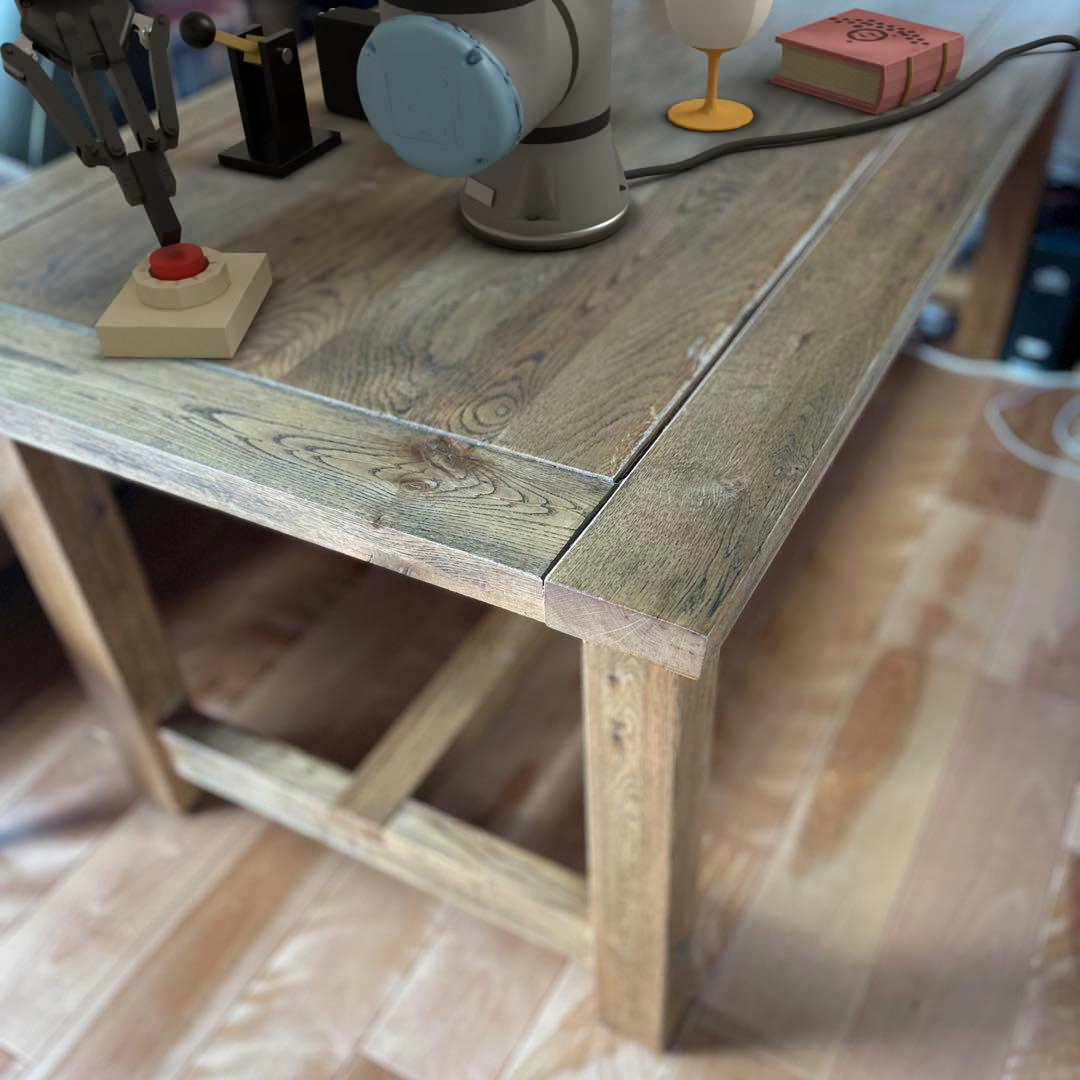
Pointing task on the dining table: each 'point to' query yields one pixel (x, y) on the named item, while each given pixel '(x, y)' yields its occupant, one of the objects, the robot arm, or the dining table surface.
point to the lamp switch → (273, 110)
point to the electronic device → (342, 55)
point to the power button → (177, 262)
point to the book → (868, 59)
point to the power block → (186, 309)
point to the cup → (714, 54)
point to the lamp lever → (216, 36)
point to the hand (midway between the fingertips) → (171, 237)
